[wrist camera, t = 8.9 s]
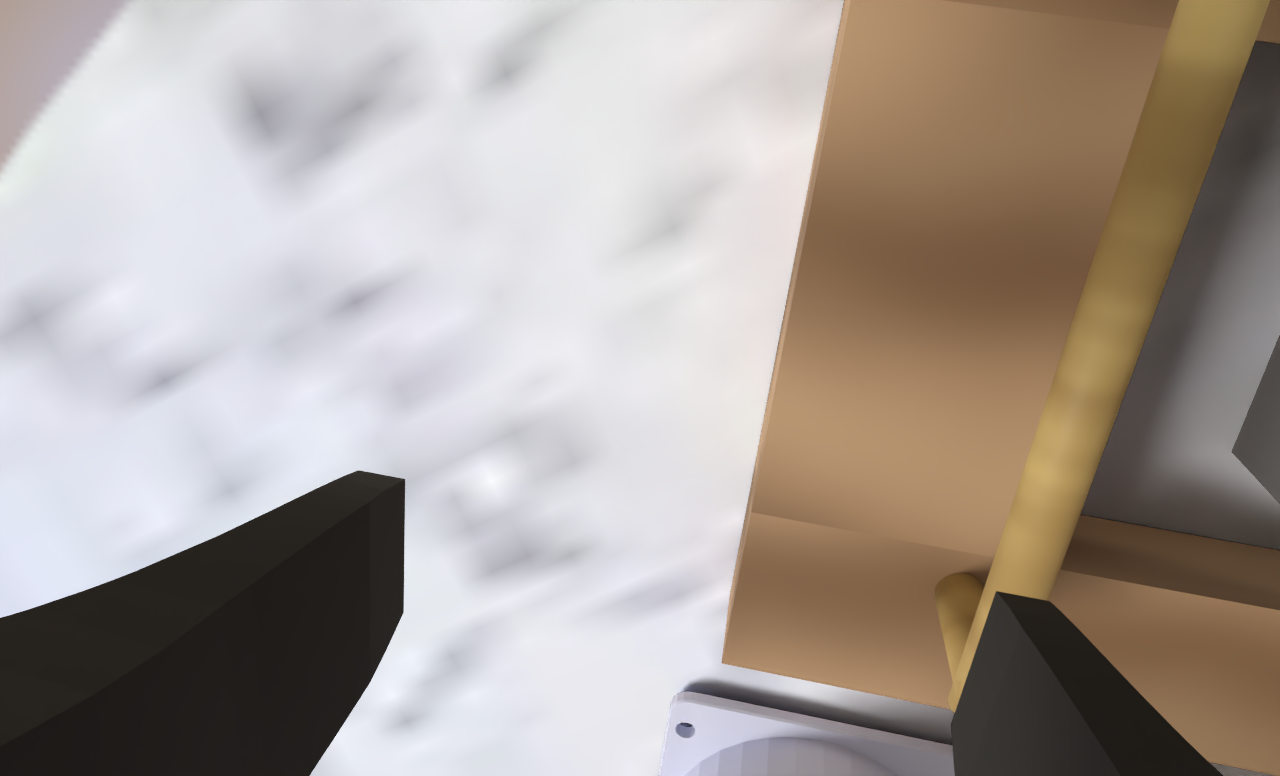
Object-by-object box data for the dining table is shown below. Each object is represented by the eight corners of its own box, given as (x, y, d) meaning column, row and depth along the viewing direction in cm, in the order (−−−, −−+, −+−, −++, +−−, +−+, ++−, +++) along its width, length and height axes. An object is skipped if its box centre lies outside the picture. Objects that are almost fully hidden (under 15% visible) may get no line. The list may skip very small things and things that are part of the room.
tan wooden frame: (1366, 720, 21) (1549, 958, 16) (729, 596, 23) (707, 777, 18) (1804, -28, 15) (2353, -37, 10) (869, -133, 16) (901, -191, 11)
